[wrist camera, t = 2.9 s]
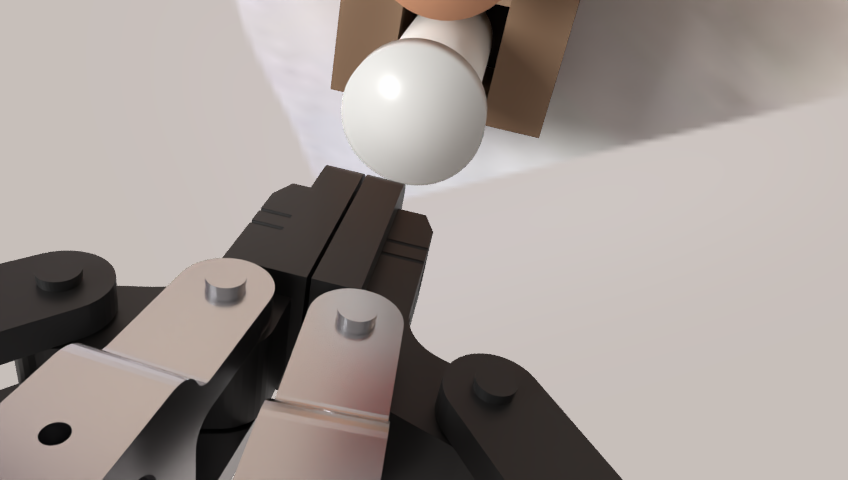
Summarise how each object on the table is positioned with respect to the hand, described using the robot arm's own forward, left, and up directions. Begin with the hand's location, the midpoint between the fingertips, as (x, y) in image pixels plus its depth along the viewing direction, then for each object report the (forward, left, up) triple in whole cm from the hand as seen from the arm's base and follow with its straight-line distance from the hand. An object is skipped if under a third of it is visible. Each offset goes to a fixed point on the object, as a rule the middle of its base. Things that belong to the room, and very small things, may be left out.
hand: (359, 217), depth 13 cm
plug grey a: (0, 0, -14) cm, 14 cm away
